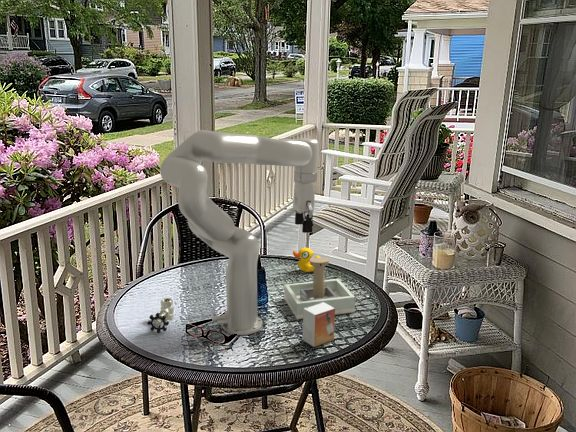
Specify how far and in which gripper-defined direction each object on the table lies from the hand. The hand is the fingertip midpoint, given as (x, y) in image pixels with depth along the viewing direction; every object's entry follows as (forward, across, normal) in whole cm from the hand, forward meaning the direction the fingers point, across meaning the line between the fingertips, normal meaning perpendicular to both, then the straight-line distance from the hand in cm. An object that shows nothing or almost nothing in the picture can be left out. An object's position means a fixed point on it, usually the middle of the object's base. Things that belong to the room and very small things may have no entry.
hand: (303, 228), depth 176 cm
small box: (+28, +24, 0) cm, 37 cm away
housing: (+27, +2, +6) cm, 28 cm away
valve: (+30, +4, -46) cm, 54 cm away
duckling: (+27, -29, +10) cm, 41 cm away
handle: (+26, +2, +6) cm, 27 cm away
